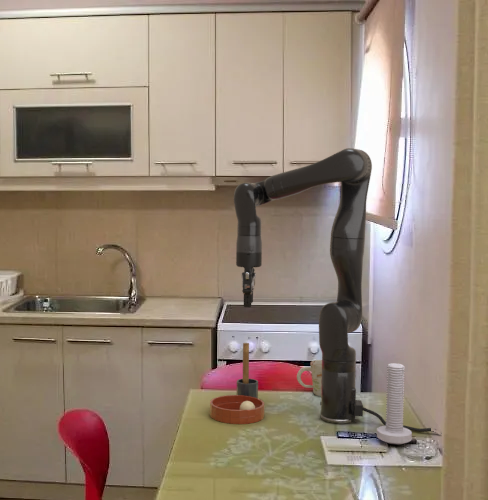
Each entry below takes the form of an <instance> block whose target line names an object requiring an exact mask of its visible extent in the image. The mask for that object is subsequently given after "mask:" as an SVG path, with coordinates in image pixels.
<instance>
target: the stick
mask: <svg viewBox="0 0 488 500" xmlns="http://www.w3.org/2000/svg"><path fill="white" fill-rule="evenodd" d="M249 375H250V343H249V342H242V379H243V383H245V384H249V379H250V376H249Z"/></svg>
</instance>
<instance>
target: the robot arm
mask: <svg viewBox="0 0 488 500" xmlns="http://www.w3.org/2000/svg"><path fill="white" fill-rule="evenodd" d="M372 170H373V164H372V159H371V157H370V155H369V154H368V153H367V152H366V151H364V150H362V149H360V148H359V149H358V148H354V147H348V148H344V149H341V150H340V151H338V152H336V153H333V154H331V155H330V156H328V157H325V158H324V159H321V160H320V161H317V162H314V163H311V164H308V165H306V166H305V165H304V166H302V167H297V168H295V169H291V170H287V171H283V172H280V173H277V174H274V175H273V174H272V175H271V176H268V177H267V178H266V179H264V180H261V181H257V182H242V183H239V184H238V185H237V186H236V188H235V189H234V193H233V205H234V211H235V214H236V216H235V217H236V219H237V220H236V221H237V228H236V229H237V230H236V233H237V235H236V236H237V237H236V242H235V243H236V245H235V246H236V248H235V249H236V251H235V265H236V267H238V268H243V269H244V270H243V271H242V273H241V287H242V290H241V291H242V294H243V308H252V304H253V302H254V290H255V285H256V276H257V274H256V270H255V269H256V268H260V267H262V265H263V264H262V261H263V257H262V255H263V242H262V219H261V217H260V216H258V214H257V208H256V207H260V206H263V205H266V204H268V203H271V202H273V201H275V200H281V199H285V198H288V197H292V196H295V195H298V194H301V193H303V192H305V191H308V190H310V189H313V188H316V187H318V186H322V185H327V184H335V183H340V199H339V203H338V207H337V210H336V213H335V215H334V219H333V222H332V226H331V232H330V241H329V242H330V243H329V256H330V260H331V263H332V267H333V269H334V271H335V272H334V273H335V274H336V278H337V295H336V296H337V297H336V301H333V302H328V303H325V304H324V305H323V306H322V307H321V309H320V311H319V314H318V315H319V316H318V345H319V348H320V351H321V360H322V385H321V396H320V402H319V403H320V404H319V405H320V419H321V420H322V421H324V422H327V423H330V424H340V425H343V424H351V423H352V424H353V423H356V417H363V416H364V412H366V413H367V414H371V415H373V416H374V417H376V418H377V419H379V421H380V422H381V423H382V424H383V426H387V425H386V421H387V420H386V419H384V418H383V417H382V416H381V415H380V414H379V413H378V412H376V411H374V410H371V409H369V408H366V407H364V404H363V401H362V400H360V399H357V388H356V371H357V370H356V365H357V361H356V359H357V351H356V349H355V348H354V347H352V346H350V345H349V334H350V333H354V332H355V331H357V330H358V329H359V328H360V326H361V324H362V320H363V291H362V282H363V269H364V267H363V266H364V253H365V242H366V226H367V225H366V224H367V199H368V193H369V187H370V181H371V177H372ZM402 425H403V427H404V428H407V429H409V430H410V431H411V432H417V433H427V432H428V433H429V432H431V433H432V432H433V433H435V432H434V431H431V428H432V427H425V428H420V427H419V428H418V427H413V426H409V425H406V424H405V425H404V424H402Z"/></svg>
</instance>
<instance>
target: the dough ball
mask: <svg viewBox="0 0 488 500" xmlns="http://www.w3.org/2000/svg"><path fill="white" fill-rule="evenodd" d="M249 409H255V405H254V404H253V403H252V402H250V401H244V402H243V403H242V404H241V405H240V410H249Z"/></svg>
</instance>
